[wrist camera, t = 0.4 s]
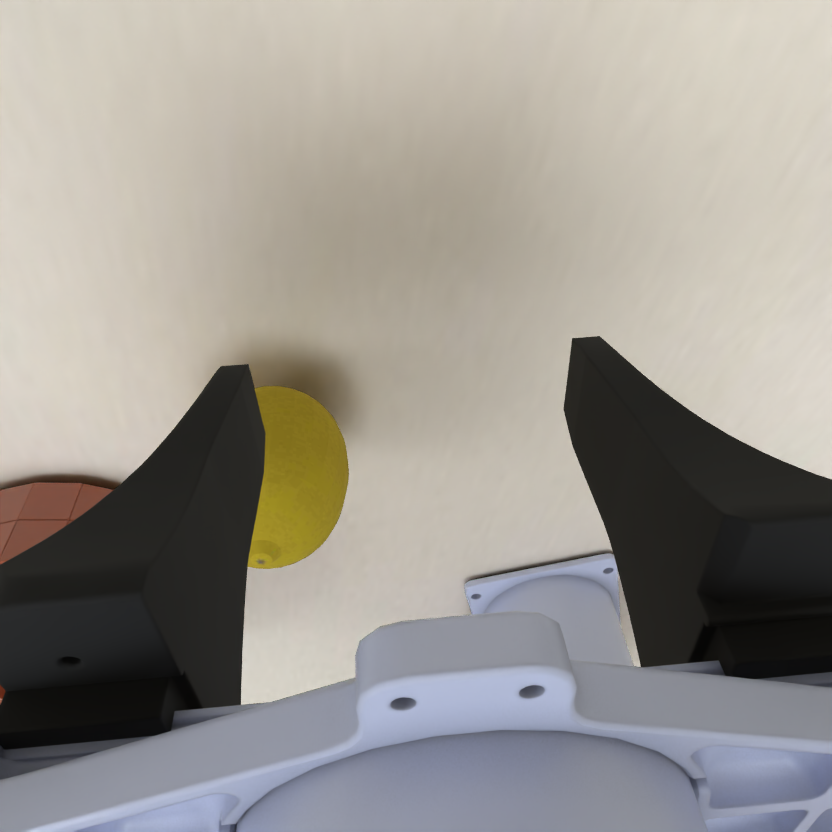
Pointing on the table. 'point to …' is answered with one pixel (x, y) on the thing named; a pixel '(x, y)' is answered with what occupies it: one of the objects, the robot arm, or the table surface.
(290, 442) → the lemon
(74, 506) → the bowl
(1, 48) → the table surface
